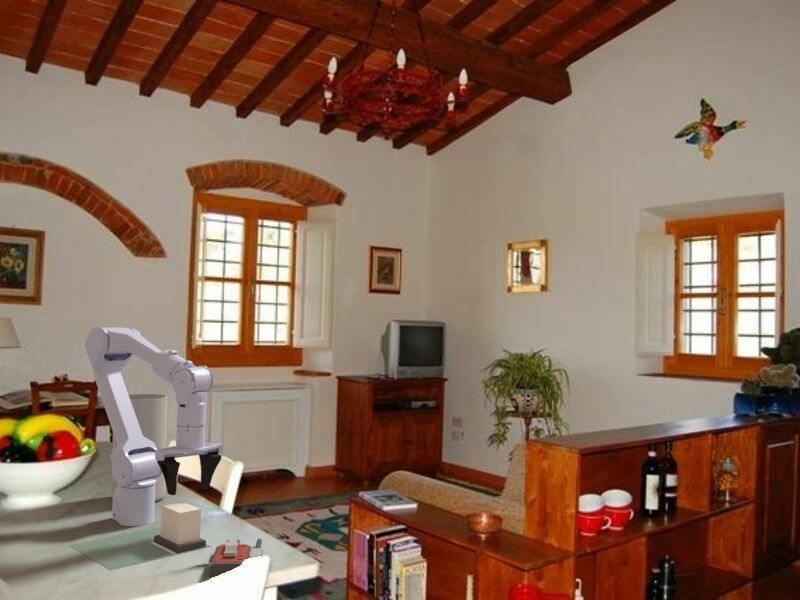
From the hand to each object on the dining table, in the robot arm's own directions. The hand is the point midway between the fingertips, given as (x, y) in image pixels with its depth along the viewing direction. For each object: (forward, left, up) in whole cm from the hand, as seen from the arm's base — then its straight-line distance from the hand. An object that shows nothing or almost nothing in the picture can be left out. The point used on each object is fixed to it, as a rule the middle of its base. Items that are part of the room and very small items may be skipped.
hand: (188, 491), depth 148 cm
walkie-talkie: (+19, -1, -10) cm, 22 cm away
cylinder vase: (-35, +7, -10) cm, 37 cm away
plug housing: (+6, -5, -7) cm, 11 cm away
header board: (+2, -11, -9) cm, 15 cm away
